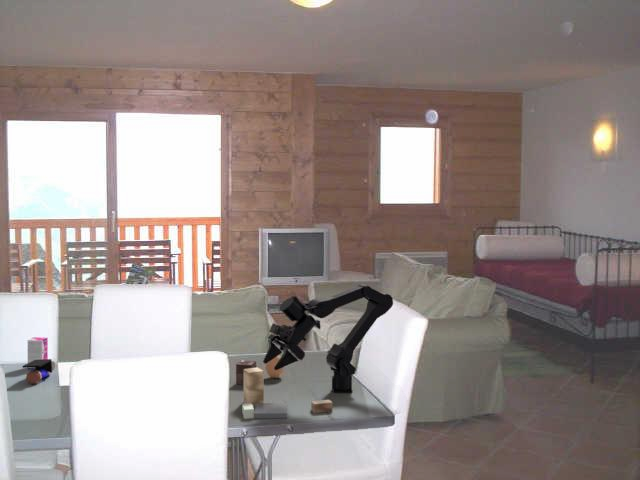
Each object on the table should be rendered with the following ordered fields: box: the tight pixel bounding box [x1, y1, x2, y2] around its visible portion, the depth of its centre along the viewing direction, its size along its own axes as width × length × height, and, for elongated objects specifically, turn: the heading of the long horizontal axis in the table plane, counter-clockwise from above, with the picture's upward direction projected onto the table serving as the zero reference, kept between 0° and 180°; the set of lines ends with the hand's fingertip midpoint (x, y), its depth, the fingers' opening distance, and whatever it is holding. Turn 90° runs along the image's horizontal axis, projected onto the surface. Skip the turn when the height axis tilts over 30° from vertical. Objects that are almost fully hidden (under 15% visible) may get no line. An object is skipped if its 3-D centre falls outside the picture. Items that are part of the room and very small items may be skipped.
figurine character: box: [22, 358, 56, 385], centre depth 254 cm, size 7×8×15 cm
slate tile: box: [253, 402, 288, 419], centre depth 218 cm, size 10×10×2 cm
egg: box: [265, 355, 285, 379], centre depth 258 cm, size 7×7×9 cm
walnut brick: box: [310, 399, 333, 414], centre depth 221 cm, size 6×3×3 cm, turn 107°
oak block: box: [243, 366, 265, 407], centre depth 228 cm, size 5×5×11 cm
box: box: [235, 360, 257, 385], centre depth 252 cm, size 6×6×7 cm
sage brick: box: [241, 403, 255, 420], centre depth 216 cm, size 6×3×3 cm, turn 12°
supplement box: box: [27, 336, 49, 371], centre depth 270 cm, size 6×6×12 cm
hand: (269, 366), depth 230 cm, fingers open, 9 cm apart
